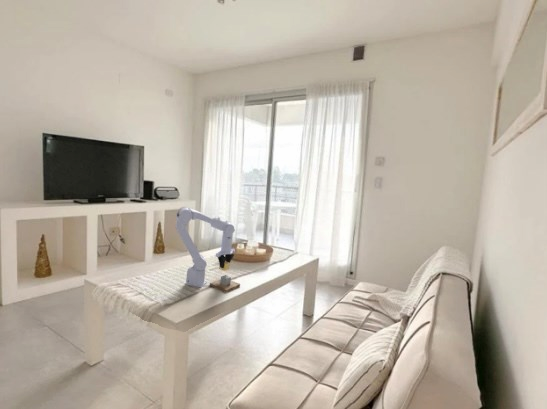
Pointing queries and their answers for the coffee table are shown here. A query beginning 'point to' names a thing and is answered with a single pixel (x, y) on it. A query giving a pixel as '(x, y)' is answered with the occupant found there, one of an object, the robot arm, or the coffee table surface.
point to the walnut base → (224, 288)
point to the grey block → (225, 280)
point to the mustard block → (225, 266)
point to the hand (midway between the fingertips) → (224, 266)
